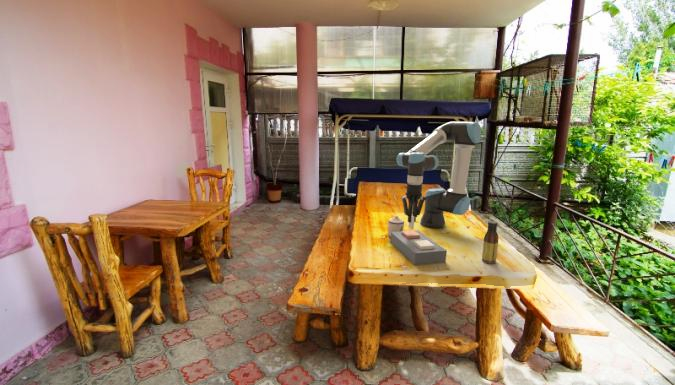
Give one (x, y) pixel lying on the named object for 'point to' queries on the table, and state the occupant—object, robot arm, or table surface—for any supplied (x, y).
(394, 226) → the teacup with lid
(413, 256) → the key box
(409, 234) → the terracotta key
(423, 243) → the ivory key
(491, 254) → the sauce bottle
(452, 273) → the table surface
